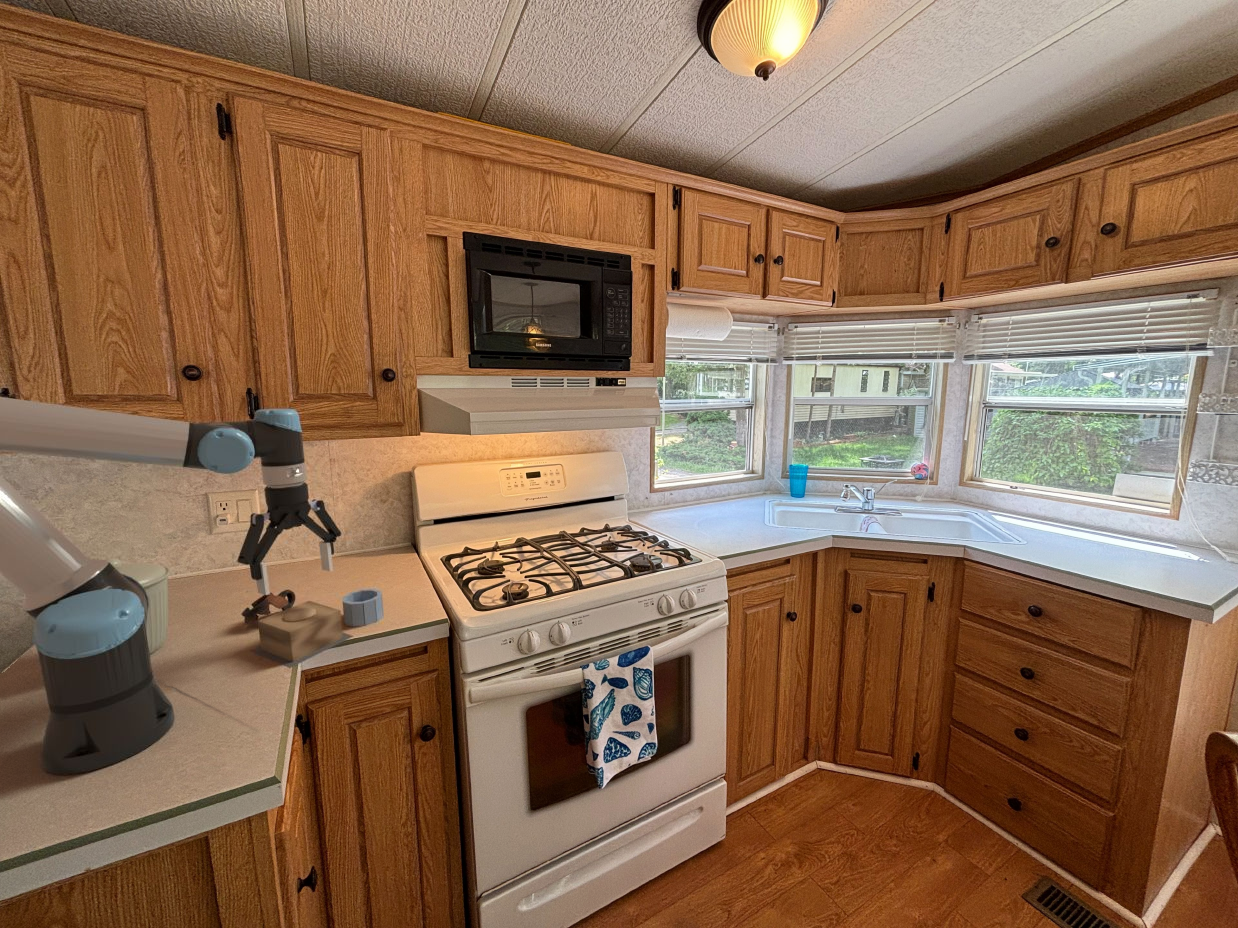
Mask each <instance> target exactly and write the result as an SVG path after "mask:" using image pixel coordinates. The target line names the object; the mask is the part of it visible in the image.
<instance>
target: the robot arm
mask: <svg viewBox="0 0 1238 928" xmlns="http://www.w3.org/2000/svg"><path fill="white" fill-rule="evenodd" d="M0 452H3V453H14V454H23V455H24V454H25V455H34V456H35V455H37V456H49V457H60V458H73V459H82V460H83V459H85V460H97V461H108V462H110V461H111V462H121V463H131V464H144V465H146V464H147V465H156V466H167V467H168V466H169V467H179V468H180V467H181V468H187V469H188V468H189V469H199V470H208V471H211V472H213V473H217V474H222V475H223V474H226V475H230V474H235V473H236V474H237V473H238V472H241V471H243V470H245V469H246V468H247V467H249V466H250V464H251V463H252V462H253V459H259V458H260V464H261V473H262V474H261V475H262V482H263V483H262V484H264V485H265V487H264V488H263V489H264V491H263V492H264V497H265V498H264V499H265V504H266V506H267V511H266V512H263V513H255V512H253V513H251V514H250V516H249V518H250V519H249V521H250V522H249V523H250V524H249V527H248V531H247V532H246V533H247V534H246V535H245V538H244V540H243V544H242V547H241V549H240V552H239V554H238V557H237V561H236V562H237V563H238V564H242V565H246V566H249V569H250V576H251V579H252V580H255V581H256V588H257V594H262V595H268V594H270V584H269V576H268V570H267V569H268V567H267V562H263V560H264V558H265V557H266V555H268V552H269V551H270V549H271V547H272V546H273V544H274V542H275V541H276V540H277V538H278V537H279V535H281V534H282V533H283V532H284V530H286V531H287V530H291V529H293V528H299V527H302V526H305V527H306V528H307V529H308V530H309V531H311V532H312V533H314V534H315V535H316V536H317V537H319V538H320V539H321V540H322V541H318V542H319V543H318V544H319V546H318V547H319V554H320V562H321V563H320V564H321V569H322V571H327V572H330V573H331V572H334V567H333V565H334V564H333V558H332V556H333V555H334V554H335V546H334V543H336V541H337V538H338V537H341V535H342V532H341V530H340V529H339V527H338V526H337V524H336V523H335V521H334V520H333V518H332V517H331V515H330V514H329V513H328V511H327V510H326V507H325V502H324V501H323V500H321V499H315V498H314V499H312V500H311V501H310V502H309V499H310V494H309V487H308V486H309V485H308V484H307V483H306V481H307V472H306V471H307V470H306V462H305V452H304V442H303V430H302V426H301V421H300V416H299V413H298V411H297V410H296V409H293V408H268V409H267V408H264V409H258V410H256V411H255V412H254V417H253V419H250V420H242V421H241V420H239V421H215V422H214V421H213V422H212V421H211V422H210V421H209V422H202V421H199V422H188V421H182V420H174V419H167V418H159V417H151V416H145V415H139V414H138V415H136V414H130V413H123V412H117V411H116V412H114V411H108V410H107V411H106V410H101V409H94V408H86V407H78V406H70V405H64V404H58V403H57V404H55V403H49V402H41V401H34V400H33V401H32V400H26V399H18V398H11V397H5V396H0ZM311 511H313V512H314V514H315V516H316V517H317V518H318V520H319V521H320V522H321V524H322V525H323V527H324V528H323V527H322V526H321V525H319V523H317V522H316V521H315V520H314V519H313V518H312V517H311V516H309V513H310V512H311ZM267 521H269V524H267V526H266V529H265V532H264V534H263V535H262V533H263V531H264V528H265V527H264V526H265V524H266V523H267ZM261 536H262V537H261ZM0 574H1V575H2V577H4V578H5V579H7V580H8V581H9V582H10V583H11V584H12V585H14V586H15V587H16V588H17V589H19V591H21V592H22V593H23V594H24V596H25V599H24V603H23V607H22V610H23V611H25V612H26V613H27V614H28V615H30V616H31V617H32V618H33V619H34V621H33V622H34V624H33V635H32V642H33V644H34V645H35V648H36V651H37V656H38V660H39V665H40V669H41V674H42V679H43V685H44V689H45V695H46V699H47V703H48V708H49V717H48V721H47V725H46V727H45V728H46V729H45V731H44V735H43V739H42V743H41V747H40V750H39V755H40V761H41V766H42V769H43V770H44V771H45V772H46V773H49V774H53V775H60V776H61V775H62V776H66V775H67V776H68V775H77V774H82V773H87V772H91V771H95V770H98V769H101V768H102V769H103V768H105V767H108V766H110V765H113V764H115V763H118V762H121V761H123V760H126V759H128V758H129V757H132V756H134V755H136V754H138V753H139V752H141V751H144V750H145V749H147V748H148V747H150V746H152V745H153V744H155V743H156V742H157V741H159V740H160V739H161V738H163V737H164V736H165V735H166V733H168V731H169V730H170V729H171V728H172V726H173V725H174V723H175V713H174V712H175V710H174V706H173V704H172V702H171V701H170V700H169V698H168V697H167V695H166V694H165V693H164V692H163V690H162V689H161V688H160V686H159V685H158V684H157V682H156V681H155V679H154V673H153V667H152V661H151V654H150V653H149V647H148V640H147V614H148V608H149V600H148V596H147V595H146V594H147V593H146V591H145V589H144V588H143V587H142V585H141V584H140V583H139V582H137V581H136V580H135V579H133V578H131V577H129V576H127V575H124V574H121V573H120V572H119V571H118V570H117V569H116V568H115V567H114V566H112V565H111V564H110V563H109V562H108V561H107V560H105V559H100V558H99V559H98V558H97V559H96V558H95V559H94V558H89V557H88V556H87V555H86V554H84V552H82V551H81V550H80V549H79V547H77V546H76V545H75V544H74V543H73V542H71V540H70V539H69V538H68V537H66V536H65V535H64V534H63V533H62V532H61V531H60V530H59V529H58V528H57V527H56V526H55V525H54V524H52V522H50V521H49V520H48V519H47V518H46V516H44V515H43V514H42V513H41V512H39V510H38V509H36V508H35V507H34V506H33V504H31V503H30V502H29V501H28V500H27V499H26V498H25V497H24V496H23V495H22V494H21V493H19V491H17V490H16V488H14V487H13V486H12V485H11V484H10V483H9V482H8V481H7V480H5V478H4V477H2V475H0Z"/></svg>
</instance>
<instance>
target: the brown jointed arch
mask: <svg viewBox="0 0 1238 928" xmlns="http://www.w3.org/2000/svg"><path fill="white" fill-rule="evenodd" d="M286 597H287V598H286ZM295 603H296V594H295V592H294V591H293V590H291V589H284V590H283V591H281V592H280V593H279V594H277V595H275V594H274V593H273V591H272V592H270V594H268V595H264V594H262V596H260V597H258V598H257V599H256V600H254V601H253V602H252V603H251V604H250V605H251V607H252V608H251V609H250V607H249V606H248V607H246V608H244V610H243V611H242V612H241V616H242V617H243V618H244V619H243V620H244V621H243V622H244V624H250V623H254V624H255V623H257V621H258V619H259V618H260V617H259V616H268V615H271V614H272V612H271V610H270V605H272V606H273V607H275V608H276V609H280V610H281V611H284V610H286V609H289V608H291V607H294V606H295Z"/></svg>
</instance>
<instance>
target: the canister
mask: <svg viewBox="0 0 1238 928" xmlns="http://www.w3.org/2000/svg"><path fill="white" fill-rule="evenodd" d="M104 560H107V561H108V562H109V563H110V564H111V565H112V566H114V567H115V568H116V569H117V570H118V571H119V572H120V573H121V574H124V575H127V576H129V577H131V578H133V579H135V580H136V581H137V582H139V583H140V584H141V585H142V587H143V588H144V589H145V591H146V593H147V594H146V595H147V596H148V600H149V608H148V614H147V640H148V647H149V653H150V655H151V654H152V653H154V652H156V651H157V650H158V649H160V648H161V647H162V646H163V644H164V642H165V640H166V639H167V636H168V635H167V634H168V621H169V619H168V617H169V612H168V611H169V601H168V600H169V598H168V597H169V591H168V590H169V588H168V587H169V582H168V581H169V579H168V577H169V576H170V575H171V573H172V569H171V568H170V567H169V566H166V565H162V564H159V563H154V562H131V563H123V562H122V561H121V560H120V559H119V558H115V557H110V558H105V559H104ZM122 563H123V564H122Z"/></svg>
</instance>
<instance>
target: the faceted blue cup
mask: <svg viewBox="0 0 1238 928" xmlns="http://www.w3.org/2000/svg"><path fill="white" fill-rule="evenodd" d="M341 599H342V601H341V602H342V611H343V621H344V625H346V626H349V627H364V626H368V625H372V624H375V623H377V622H378V621H380V620H382V619H383V617H384V615H385V613H384V603H383V602H384V601H383V593H382V590H380V589H376V588H362V589H359V590H354V591H351V592H349V593H347V594H345V595H344V596H343V597H342V598H341Z"/></svg>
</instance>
